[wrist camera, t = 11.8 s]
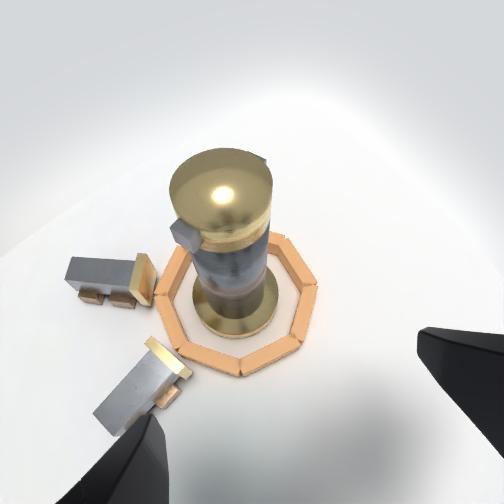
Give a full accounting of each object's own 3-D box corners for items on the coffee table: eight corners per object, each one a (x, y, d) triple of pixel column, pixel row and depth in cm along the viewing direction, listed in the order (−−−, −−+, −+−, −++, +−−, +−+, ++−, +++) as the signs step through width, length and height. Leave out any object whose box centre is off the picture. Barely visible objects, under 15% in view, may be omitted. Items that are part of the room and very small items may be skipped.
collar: (199, 396, 18) (194, 395, 17) (146, 268, 23) (140, 259, 22) (337, 327, 21) (342, 321, 20) (266, 217, 26) (266, 206, 25)
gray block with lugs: (165, 347, 20) (150, 334, 17) (196, 374, 19) (185, 366, 16) (108, 410, 18) (84, 407, 14) (137, 439, 17) (116, 442, 14)
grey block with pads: (160, 275, 23) (146, 252, 20) (153, 310, 22) (137, 292, 19) (90, 269, 23) (71, 248, 20) (81, 301, 22) (60, 283, 19)
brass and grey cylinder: (246, 354, 20) (237, 282, 9) (180, 308, 22) (115, 200, 11) (292, 289, 23) (324, 168, 12) (227, 250, 24) (210, 120, 13)
